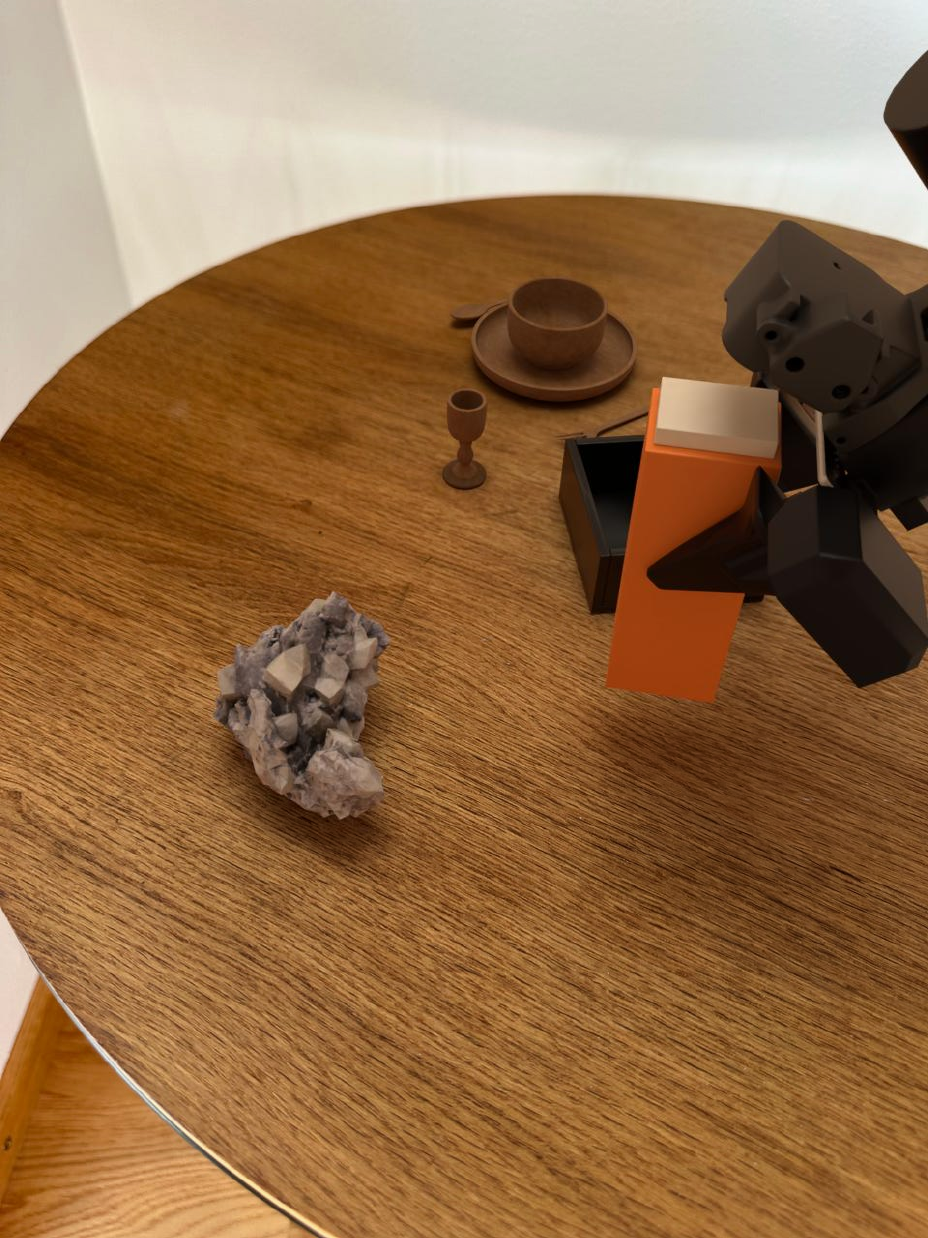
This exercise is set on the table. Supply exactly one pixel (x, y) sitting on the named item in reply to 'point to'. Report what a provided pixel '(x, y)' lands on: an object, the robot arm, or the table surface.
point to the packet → (687, 531)
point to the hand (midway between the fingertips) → (656, 544)
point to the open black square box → (602, 511)
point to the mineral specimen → (308, 707)
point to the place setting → (539, 358)
